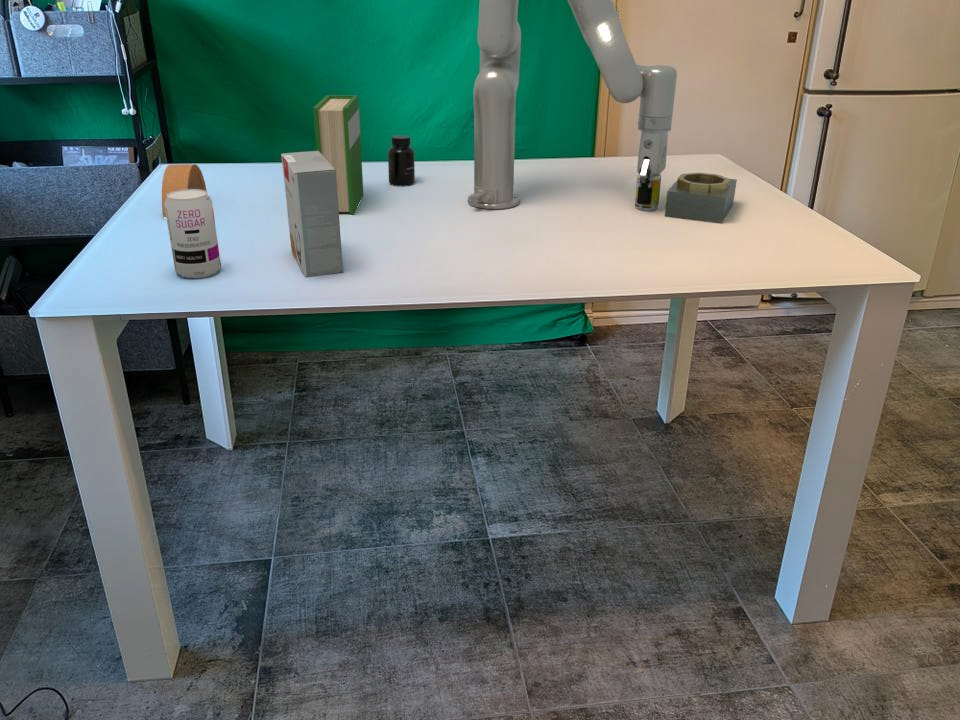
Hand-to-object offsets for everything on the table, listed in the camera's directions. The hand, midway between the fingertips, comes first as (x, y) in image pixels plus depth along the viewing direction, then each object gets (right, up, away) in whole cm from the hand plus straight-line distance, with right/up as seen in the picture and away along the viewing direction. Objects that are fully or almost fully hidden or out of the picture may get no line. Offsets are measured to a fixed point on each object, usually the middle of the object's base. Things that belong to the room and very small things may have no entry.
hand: (647, 200), depth 195 cm
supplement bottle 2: (0, -2, +1) cm, 2 cm away
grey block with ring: (+13, -2, +2) cm, 14 cm away
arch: (-109, -2, -1) cm, 109 cm away
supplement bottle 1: (-60, +8, +20) cm, 64 cm away
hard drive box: (-72, -19, -35) cm, 82 cm away
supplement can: (-93, -22, -40) cm, 104 cm away
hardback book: (-73, -1, +2) cm, 73 cm away
